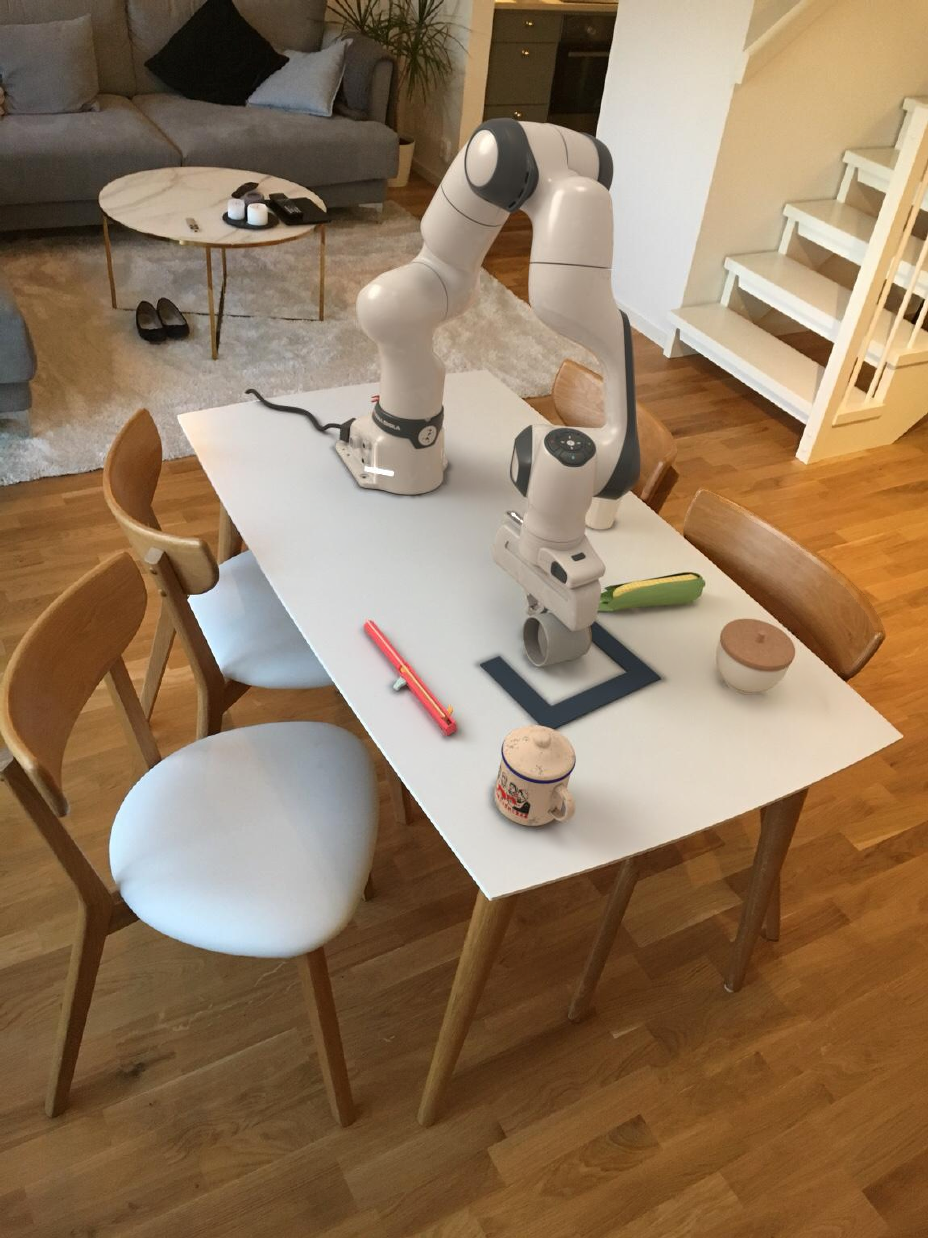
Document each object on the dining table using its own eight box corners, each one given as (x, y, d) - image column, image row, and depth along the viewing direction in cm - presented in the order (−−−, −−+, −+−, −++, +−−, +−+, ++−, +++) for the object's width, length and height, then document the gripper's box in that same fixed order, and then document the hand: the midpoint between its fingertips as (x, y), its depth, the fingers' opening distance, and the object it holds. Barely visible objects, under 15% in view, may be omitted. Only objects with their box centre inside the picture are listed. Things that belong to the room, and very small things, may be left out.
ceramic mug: (590, 665, 148) (599, 625, 143) (542, 677, 144) (550, 636, 140) (554, 623, 155) (562, 583, 150) (507, 633, 152) (514, 593, 147)
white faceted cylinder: (574, 524, 177) (581, 491, 173) (583, 506, 182) (590, 473, 178) (611, 535, 176) (620, 501, 171) (619, 516, 181) (627, 483, 177)
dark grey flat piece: (480, 665, 145) (480, 663, 145) (591, 619, 156) (592, 618, 156) (547, 732, 136) (547, 730, 136) (661, 679, 147) (661, 677, 147)
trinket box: (709, 698, 145) (727, 649, 139) (705, 651, 154) (722, 603, 148) (782, 711, 145) (804, 663, 139) (775, 663, 153) (794, 616, 147)
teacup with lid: (478, 789, 127) (490, 724, 119) (534, 763, 131) (549, 700, 124) (535, 857, 119) (551, 792, 112) (592, 827, 124) (612, 763, 117)
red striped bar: (435, 744, 133) (465, 726, 134) (433, 735, 131) (462, 717, 133) (353, 637, 148) (380, 622, 149) (349, 628, 146) (377, 612, 147)
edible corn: (707, 605, 163) (714, 583, 160) (597, 621, 156) (603, 598, 154) (691, 586, 167) (698, 564, 164) (584, 600, 160) (589, 578, 157)
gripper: (488, 509, 145) (477, 584, 154) (579, 586, 133) (561, 663, 142) (522, 499, 148) (509, 573, 157) (614, 573, 137) (594, 649, 145)
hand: (535, 616), depth 150 cm, fingers closed
